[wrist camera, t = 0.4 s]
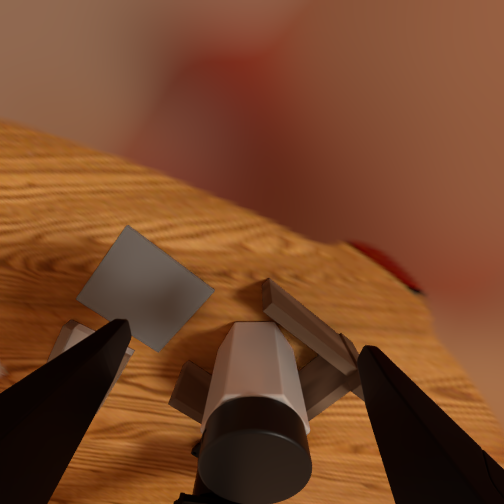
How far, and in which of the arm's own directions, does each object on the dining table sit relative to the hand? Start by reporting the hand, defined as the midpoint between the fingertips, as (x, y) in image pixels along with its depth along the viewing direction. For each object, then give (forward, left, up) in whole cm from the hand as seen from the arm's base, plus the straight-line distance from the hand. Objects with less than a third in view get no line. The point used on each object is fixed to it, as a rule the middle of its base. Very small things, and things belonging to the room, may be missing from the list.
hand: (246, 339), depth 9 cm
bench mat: (-13, +5, -15) cm, 20 cm away
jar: (-10, -9, -15) cm, 21 cm away
